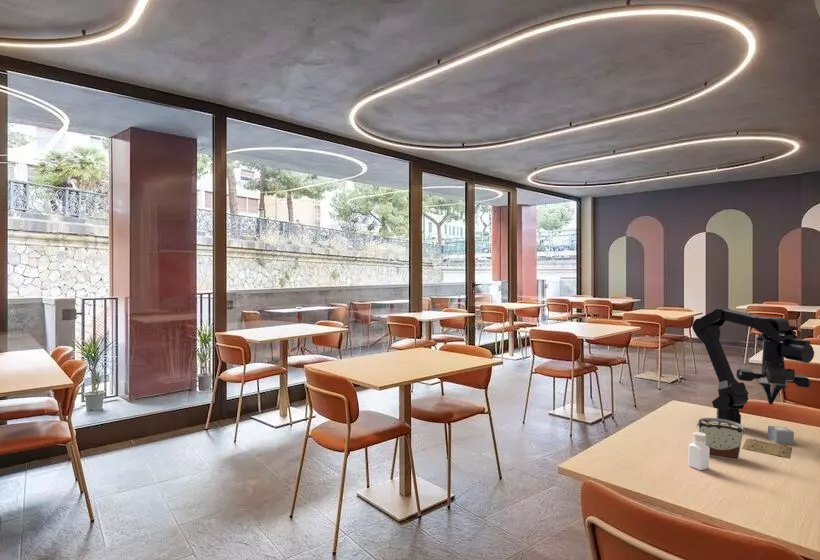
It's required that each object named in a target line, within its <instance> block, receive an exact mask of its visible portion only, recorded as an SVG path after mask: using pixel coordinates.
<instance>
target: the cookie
mask: <svg viewBox="0 0 820 560" xmlns="http://www.w3.org/2000/svg"><path fill="white" fill-rule="evenodd" d="M741 449H742V450H746V451H750V452H756V453H760V454H765V455H770V456H775V457H780V458H784V459H788V460H789V459H791V454H792V449H793V448H792V446H788V445H787V444H783V443H775V442H767V441H763V440H760V439H759V440H758V439H756V438H755V439H754V438H746V439H745V441H744V444H743V446H742V447H741Z"/></svg>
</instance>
